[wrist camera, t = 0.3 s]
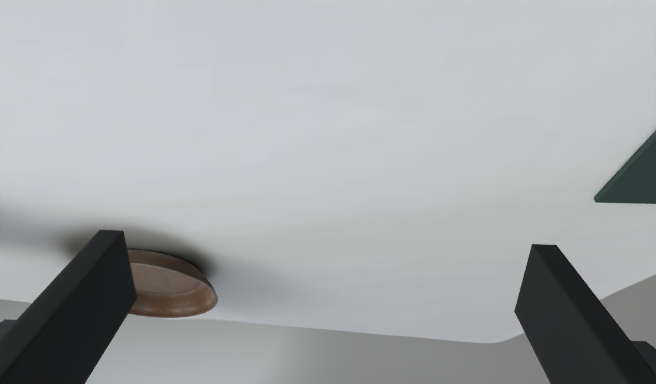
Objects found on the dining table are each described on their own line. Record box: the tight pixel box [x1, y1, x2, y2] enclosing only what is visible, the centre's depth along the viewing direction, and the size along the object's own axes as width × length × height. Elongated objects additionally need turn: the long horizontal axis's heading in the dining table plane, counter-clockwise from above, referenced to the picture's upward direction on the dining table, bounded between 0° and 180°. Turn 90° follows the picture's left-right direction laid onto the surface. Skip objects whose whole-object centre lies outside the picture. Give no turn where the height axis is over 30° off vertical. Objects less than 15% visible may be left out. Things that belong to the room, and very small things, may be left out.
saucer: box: [127, 250, 218, 318], centre depth 48 cm, size 15×15×3 cm
